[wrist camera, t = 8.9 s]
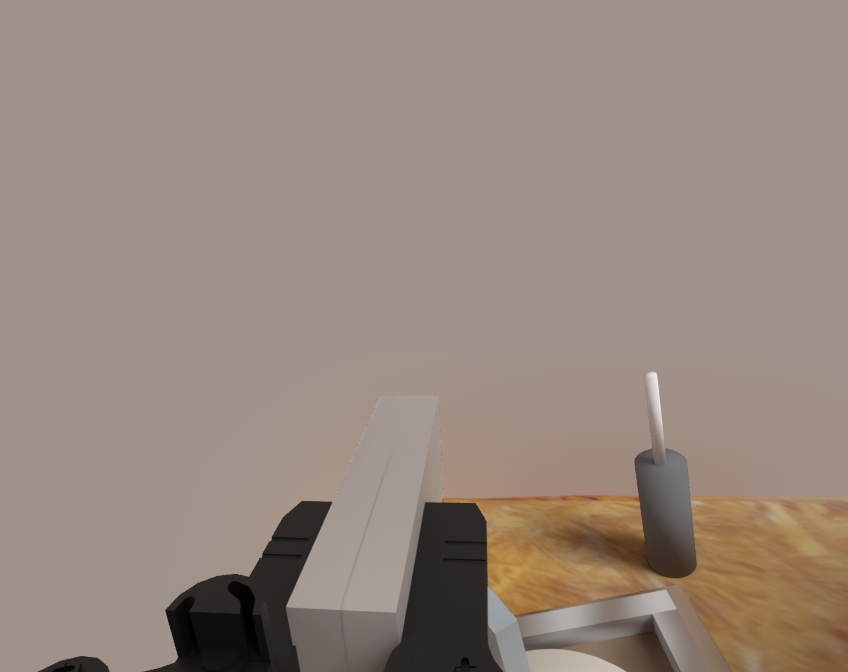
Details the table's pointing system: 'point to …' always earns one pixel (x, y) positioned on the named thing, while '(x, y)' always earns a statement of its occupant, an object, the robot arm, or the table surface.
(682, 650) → the dial housing
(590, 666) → the dial
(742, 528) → the table surface
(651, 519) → the screwdriver
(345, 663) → the robot arm
